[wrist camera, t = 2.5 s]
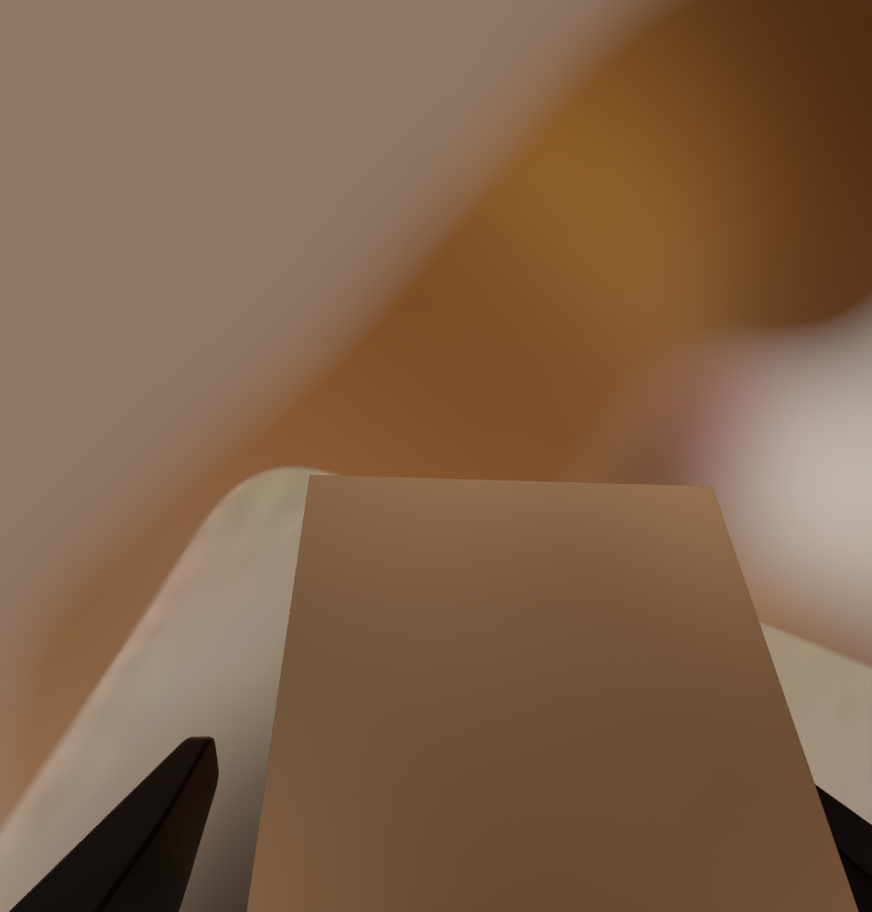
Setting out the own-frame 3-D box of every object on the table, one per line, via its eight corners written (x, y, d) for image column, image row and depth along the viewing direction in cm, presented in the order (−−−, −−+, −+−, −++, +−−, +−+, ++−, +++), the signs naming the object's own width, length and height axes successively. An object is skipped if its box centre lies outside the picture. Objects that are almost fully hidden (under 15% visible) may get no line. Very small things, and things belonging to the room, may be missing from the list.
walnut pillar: (505, 772, 14) (933, 1129, 3) (358, 777, 14) (204, 1208, 3) (495, 617, 17) (712, 486, 5) (368, 617, 16) (309, 474, 5)
